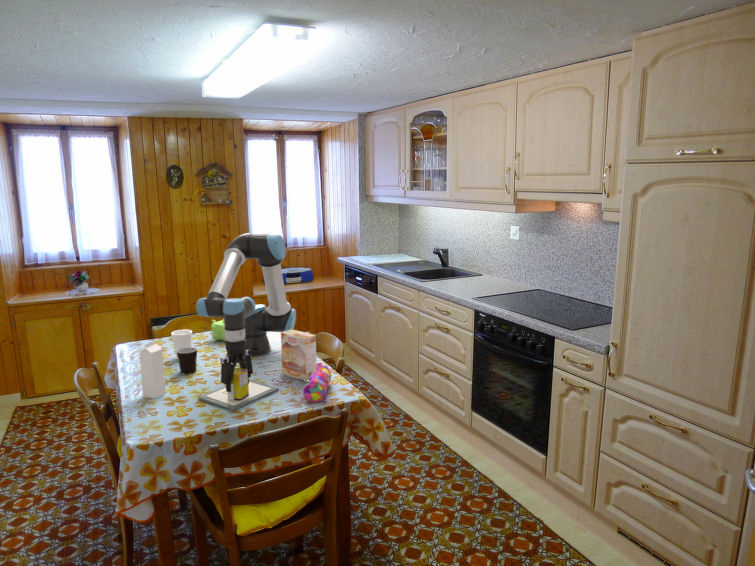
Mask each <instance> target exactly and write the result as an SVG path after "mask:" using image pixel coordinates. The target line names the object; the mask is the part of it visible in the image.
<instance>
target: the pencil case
mask: <svg viewBox="0 0 755 566" xmlns="http://www.w3.org/2000/svg"><path fill="white" fill-rule="evenodd" d="M309 377H310V378H309V381H307V382H306V384H305V385H304V386H303V388H302V389H303V390H302V392H303V396H304V397H305V399H306V400H307V401H308V402H311V403H319V402H318V401H320V402H321V401H323V400H324V399H325V396H326V394H327V391H328V388H329V386H330V383H331V380H332V373H331V369H330V368H329V367H328V366H326V365H324V364H323V363H322V362H318V363H317V362H316V367H315V368H314V369H313V370H312V371H311V372H310V374H309Z"/></svg>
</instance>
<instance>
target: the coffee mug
mask: <svg viewBox="0 0 755 566" xmlns="http://www.w3.org/2000/svg"><path fill="white" fill-rule="evenodd" d="M177 355H178V360H177V361H178V366H179V369H180V373H181V374H182V373H184V374H183V375H189V373H191V374H194V373H196V372H197V361H198V359H197V358H198V348H197V347H193V346H191V347H186V348H181V349H179V350H177ZM195 371H196V372H195Z"/></svg>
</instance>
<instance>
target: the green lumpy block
mask: <svg viewBox="0 0 755 566" xmlns="http://www.w3.org/2000/svg"><path fill="white" fill-rule="evenodd" d="M211 321H212V323H211V334H212V336H211V337H212V339H214V340H216V341H217V342H218V341H223V342H224V343H225V341H226V339H225V328H224V327H225V326H224V318H223V319H221V320H219V321H216V320H215V319H211Z"/></svg>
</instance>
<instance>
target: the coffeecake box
mask: <svg viewBox="0 0 755 566" xmlns="http://www.w3.org/2000/svg"><path fill="white" fill-rule="evenodd" d="M316 336H317V335H316V334H313V333H309V332H305V331H300V330H296V329H294V328H293V329H291V330H288V331H284V332H280V340H281V341H280V343H281V347H280V348H281V349H280V350H281V371H282V372H281V373H282V374H283V375H282V376H285V375H287V376H286V377H289V376H290V377H289V378H292V377H293V378H292V379H295V378H297V379H296V380H298V379H301V380H305V381H307V380H309V378H310V377H309V374H310V372H311V371H312V370H313V369H314V368H315V367H316V366H317V338H316ZM301 380H300V381H301ZM305 381H304V382H305ZM307 382H308V381H307Z"/></svg>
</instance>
